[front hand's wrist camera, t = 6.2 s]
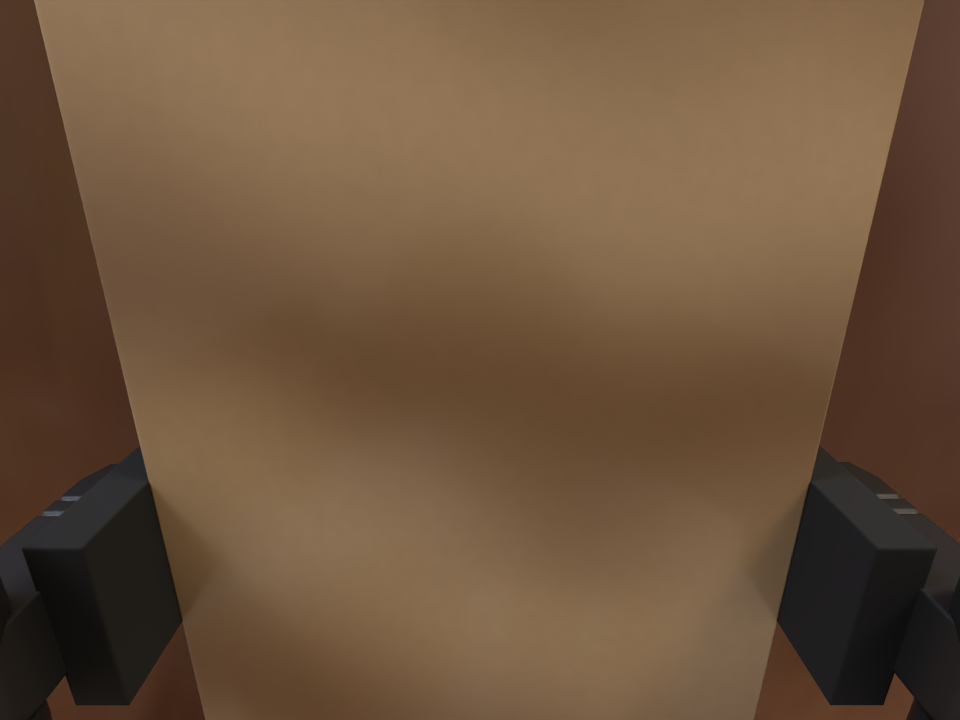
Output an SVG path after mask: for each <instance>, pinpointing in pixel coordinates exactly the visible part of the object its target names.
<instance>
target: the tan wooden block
mask: <svg viewBox="0 0 960 720" xmlns="http://www.w3.org/2000/svg"><path fill="white" fill-rule="evenodd" d="M34 1H35V6H36V10H37V14H38V18H39V22H40V27H41V31H42V35H43V39H44V43H45V48H46V52H47V56H48V60H49V65H50V69H51V73H52V77H53V81H54V86H55V90H56V94H57V98H58V102H59V107H60V111H61V115H62V119H63V123H64V128H65V132H66V136H67V140H68V144H69V149H70V153H71V157H72V161H73V165H74V170H75V174H76V178H77V182H78V186H79V191H80V195H81V199H82V203H83V207H84V212H85V216H86V220H87V224H88V228H89V233H90V237H91V241H92V245H93V249H94V254H95V258H96V262H97V266H98V270H99V275H100V279H101V283H102V287H103V291H104V296H105V300H106V304H107V308H108V312H109V317H110V321H111V325H112V329H113V333H114V338H115V342H116V346H117V350H118V354H119V359H120V363H121V367H122V371H123V375H124V380H125V384H126V388H127V392H128V396H129V401H130V405H131V409H132V413H133V417H134V422H135V426H136V430H137V434H138V438H139V443H140V447H141V451H142V455H143V459H144V464H145V468H146V472H147V476H148V480H149V485H150V489H151V493H152V497H153V501H154V506H155V510H156V514H157V518H158V522H159V527H160V531H161V535H162V539H163V543H164V548H165V552H166V556H167V560H168V564H169V569H170V573H171V577H172V581H173V585H174V590H175V594H176V598H177V602H178V606H179V611H180V615H181V619H182V623H183V627H184V632H185V636H186V640H187V644H188V648H189V653H190V657H191V661H192V665H193V669H194V674H195V678H196V682H197V686H198V690H199V695H200V699H201V703H202V707H203V711H204V716H205V720H754V717H755V713H756V709H757V704H758V700H759V696H760V692H761V688H762V683H763V679H764V675H765V671H766V667H767V662H768V658H769V654H770V650H771V645H772V641H773V637H774V633H775V629H776V624H777V620H778V616H779V612H780V607H781V603H782V599H783V595H784V591H785V586H786V582H787V578H788V574H789V570H790V565H791V561H792V557H793V553H794V548H795V544H796V540H797V536H798V532H799V527H800V523H801V519H802V515H803V511H804V506H805V502H806V498H807V494H808V489H809V485H810V481H811V477H812V473H813V468H814V464H815V460H816V456H817V451H818V447H819V443H820V439H821V435H822V430H823V426H824V422H825V418H826V414H827V409H828V405H829V401H830V397H831V392H832V388H833V384H834V380H835V376H836V371H837V367H838V363H839V359H840V354H841V350H842V346H843V342H844V338H845V333H846V329H847V325H848V321H849V317H850V312H851V308H852V304H853V300H854V295H855V291H856V287H857V283H858V279H859V274H860V270H861V266H862V262H863V257H864V253H865V249H866V245H867V241H868V236H869V232H870V228H871V224H872V220H873V215H874V211H875V207H876V203H877V198H878V194H879V190H880V186H881V182H882V177H883V173H884V169H885V165H886V160H887V156H888V152H889V148H890V144H891V139H892V135H893V131H894V127H895V123H896V118H897V114H898V110H899V106H900V101H901V97H902V93H903V89H904V85H905V80H906V76H907V72H908V68H909V63H910V59H911V55H912V51H913V47H914V42H915V38H916V34H917V30H918V26H919V21H920V17H921V13H922V9H923V4H924V0H34Z"/></svg>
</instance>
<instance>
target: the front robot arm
mask: <svg viewBox="0 0 960 720" xmlns="http://www.w3.org/2000/svg"><path fill="white" fill-rule="evenodd" d="M181 622H182V619H181V615H180V611H179V606H178V602H177V598H176V594H175V590H174V585H173V581H172V577H171V573H170V569H169V564H168V560H167V556H166V552H165V548H164V543H163V539H162V535H161V531H160V527H159V522H158V518H157V514H156V510H155V506H154V501H153V497H152V493H151V489H150V485H149V480H148V476H147V472H146V468H145V464H144V459H143V455H142V451H141V447H140V446H139V447H138V448H137V449H136V450H134V451H133V452H132V453H131V454H130V455H129V456H128V457H126V458H125V459H124V460H123V461H122V462H121V463H119V464H111V465H109V466H107V467H105V468H103V469H101V470H99V471H97V472H95V473H93V474H91V475H89V476H87V477H86V478H84V479H82V480H81V481H79V482H78V483H77V484H76V485H74V486H73V487H72V488H71V489H70V490H68V491H67V492H66V493H65V494H64V495H62V496H61V497H60V501H55V502H54V503H53V504H51V505H50V506H49V507H48V508H47V509H45V510H44V511H43V512H42V516H37V517H36V518H35V519H33V520H32V521H31V522H30V523H28V524H27V525H26V526H25V527H24V528H22V529H21V530H20V531H19V532H18V533H16V534H15V535H14V536H13V537H12V538H10V539H9V540H8V541H7V542H5V543H4V544H3V545H2V546H1V547H0V720H52V718H51V712H50V709H49V706H48V703H47V701H46V699H47V697H48V696H49V695H50V694H51V692H52V691H53V690H54V689H55V687H56V686H57V685H58V684H59V682H60V681H61V680H62V679H63V677H64V676H65V675H66V678H67V681H68V684H69V687H70V689H71V692H72V695H73V698H74V701H75V704H76V705H129V704H130V703H131V701H132V700H133V698H134V697H135V695H136V693H137V692H138V690H139V689H140V687H141V685H142V684H143V682H144V681H145V679H146V678H147V676H148V674H149V673H150V671H151V670H152V668H153V666H154V665H155V663H156V662H157V660H158V659H159V657H160V655H161V654H162V652H163V651H164V649H165V647H166V646H167V644H168V643H169V641H170V640H171V638H172V636H173V635H174V633H175V632H176V630H177V628H178V627H179V625H180V624H181ZM777 622H778V623H779V625H780V626H781V628H782V629H783V631H784V633H785V634H786V636H787V637H788V639H789V641H790V642H791V644H792V645H793V647H794V648H795V650H796V652H797V653H798V655H799V656H800V658H801V660H802V661H803V663H804V664H805V666H806V667H807V669H808V671H809V672H810V674H811V675H812V677H813V679H814V680H815V682H816V683H817V685H818V686H819V688H820V690H821V691H822V693H823V694H824V696H825V697H826V699H827V701H828V702H829V704H830V705H884V702H885V699H886V696H887V693H888V690H889V687H890V684H891V681H892V679H893V676H894V673H895V674H896V675H897V676H898V677H899V679H900V680H901V681H902V682H903V684H904V685H905V686H906V687H907V689H908V690H909V691H910V693H911V694H912V695H913V696H914V701H913V703H912V706H911V709H910V711H909V714H908V717H907V719H906V720H960V544H959V543H957V542H956V541H955V540H954V539H953V538H951V537H950V536H949V535H948V534H947V533H945V532H944V531H943V530H942V529H940V528H939V527H938V526H937V525H936V524H934V523H933V522H932V521H931V520H929V519H928V518H927V517H926V516H925V515H923V514H918V510H917V509H916V508H915V507H914V506H912V505H911V504H910V503H909V502H907V501H906V500H905V499H900V495H899V494H898V493H897V492H895V491H894V490H893V489H892V488H890V487H889V486H888V485H887V484H886V483H884V482H883V481H882V480H881V479H879V478H878V477H876V476H874V475H872V474H871V473H869V472H867V471H865V470H863V469H861V468H859V467H857V466H855V465H853V464H851V463H849V462H838V461H836V460H835V459H834V458H833V457H832V456H831V455H830V454H828V453H827V452H826V451H825V450H824V449H823V448H821V447H820V446H819V447H818V451H817V456H816V460H815V464H814V468H813V473H812V477H811V481H810V485H809V489H808V494H807V498H806V502H805V506H804V511H803V515H802V519H801V523H800V527H799V532H798V536H797V540H796V544H795V548H794V553H793V557H792V561H791V565H790V570H789V574H788V578H787V582H786V586H785V591H784V595H783V599H782V603H781V607H780V612H779V616H778V620H777Z"/></svg>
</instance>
